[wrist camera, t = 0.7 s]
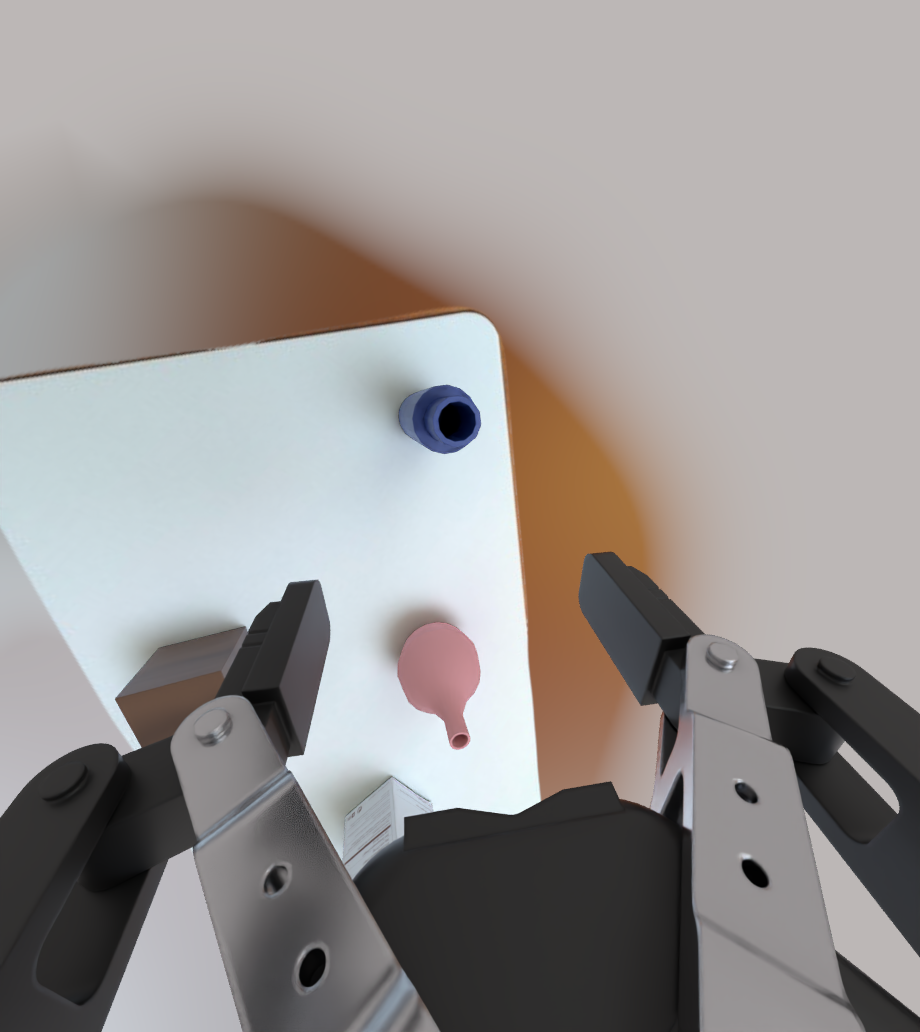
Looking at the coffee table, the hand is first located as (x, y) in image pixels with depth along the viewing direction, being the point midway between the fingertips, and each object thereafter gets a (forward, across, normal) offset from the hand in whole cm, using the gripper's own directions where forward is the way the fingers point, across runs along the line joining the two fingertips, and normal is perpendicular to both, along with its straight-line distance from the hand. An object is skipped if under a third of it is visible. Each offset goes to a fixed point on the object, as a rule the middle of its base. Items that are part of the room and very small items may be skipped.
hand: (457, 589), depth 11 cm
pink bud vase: (+19, +1, +22) cm, 29 cm away
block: (+17, +20, +20) cm, 33 cm away
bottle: (+23, 0, 0) cm, 23 cm away
